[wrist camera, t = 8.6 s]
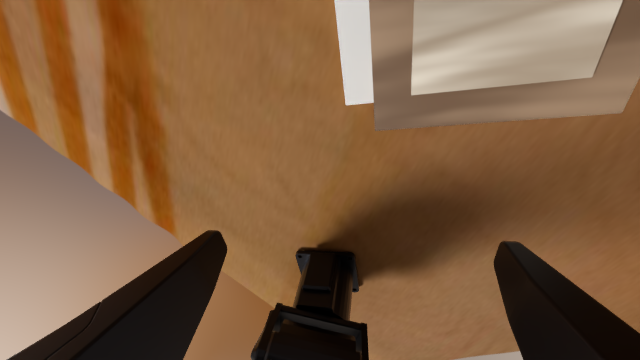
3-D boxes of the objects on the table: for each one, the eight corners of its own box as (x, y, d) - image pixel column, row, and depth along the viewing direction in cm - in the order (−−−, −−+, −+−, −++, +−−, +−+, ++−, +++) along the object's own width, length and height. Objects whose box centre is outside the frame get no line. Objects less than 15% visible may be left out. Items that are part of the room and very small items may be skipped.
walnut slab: (625, 114, 13) (796, -227, 7) (374, 132, 16) (364, -105, 10) (583, 94, 15) (688, -171, 10) (375, 112, 18) (366, -86, 13)
